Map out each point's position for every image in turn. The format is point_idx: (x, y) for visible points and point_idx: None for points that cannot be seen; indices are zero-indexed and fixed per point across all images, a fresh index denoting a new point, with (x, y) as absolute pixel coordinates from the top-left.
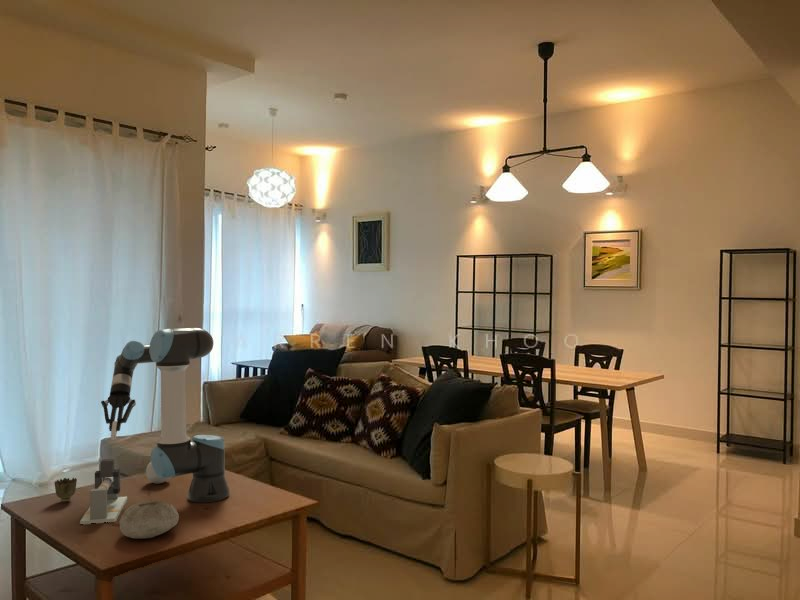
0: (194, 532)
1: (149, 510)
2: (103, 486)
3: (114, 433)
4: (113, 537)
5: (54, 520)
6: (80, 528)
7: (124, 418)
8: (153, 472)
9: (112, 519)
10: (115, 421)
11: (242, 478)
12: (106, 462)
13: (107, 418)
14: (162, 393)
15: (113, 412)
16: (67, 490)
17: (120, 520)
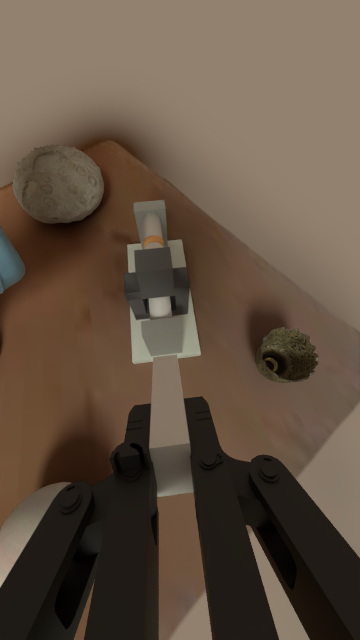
0: (8, 204)
1: (47, 146)
2: (149, 234)
3: (156, 365)
4: (117, 200)
5: (233, 264)
6: (175, 231)
7: (64, 494)
8: (63, 485)
9: (132, 245)
10: (164, 445)
11: None
12: (152, 251)
13: (264, 474)
14: None
15: (234, 633)
16: (266, 339)
17: (99, 172)
